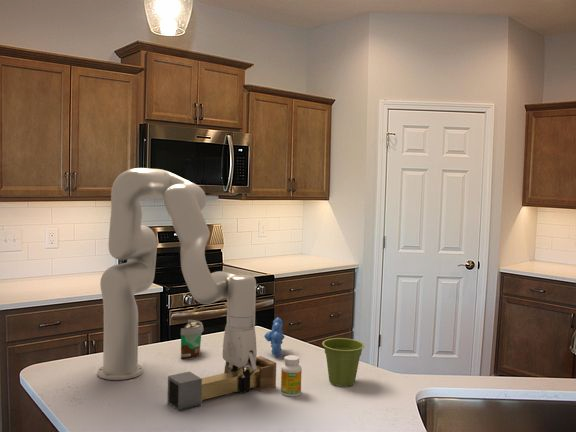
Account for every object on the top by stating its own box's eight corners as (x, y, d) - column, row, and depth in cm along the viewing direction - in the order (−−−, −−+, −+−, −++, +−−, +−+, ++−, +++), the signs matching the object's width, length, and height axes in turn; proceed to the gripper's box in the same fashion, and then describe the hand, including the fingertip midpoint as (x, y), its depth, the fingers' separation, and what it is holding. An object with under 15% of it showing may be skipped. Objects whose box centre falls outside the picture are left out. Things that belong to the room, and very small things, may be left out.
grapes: (265, 348, 191) (266, 313, 191) (285, 349, 191) (286, 314, 190) (261, 359, 180) (262, 322, 179) (282, 360, 179) (283, 323, 179)
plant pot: (312, 382, 160) (313, 343, 159) (338, 373, 169) (339, 335, 168) (346, 393, 152) (347, 352, 151) (371, 383, 161) (372, 344, 160)
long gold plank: (182, 398, 143) (182, 381, 143) (259, 379, 158) (259, 364, 158) (190, 403, 140) (190, 386, 140) (268, 384, 155) (268, 369, 155)
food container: (199, 361, 176) (200, 329, 176) (180, 360, 176) (180, 328, 176) (206, 349, 189) (206, 320, 188) (187, 349, 189) (188, 319, 188)
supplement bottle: (286, 398, 148) (287, 361, 147) (277, 391, 152) (278, 355, 152) (304, 395, 150) (305, 359, 150) (295, 388, 155) (295, 353, 154)
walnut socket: (245, 383, 157) (246, 359, 157) (260, 380, 160) (260, 356, 160) (260, 391, 152) (261, 366, 151) (275, 387, 155) (276, 362, 154)
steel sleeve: (167, 403, 142) (167, 375, 142) (188, 398, 146) (189, 371, 145) (179, 411, 137) (180, 383, 137) (201, 406, 141) (201, 378, 140)
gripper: (212, 316, 155) (211, 382, 156) (247, 330, 142) (245, 401, 143) (235, 313, 160) (234, 377, 161) (271, 326, 147) (269, 395, 148)
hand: (239, 388), depth 152 cm, fingers closed on long gold plank, 4 cm apart
